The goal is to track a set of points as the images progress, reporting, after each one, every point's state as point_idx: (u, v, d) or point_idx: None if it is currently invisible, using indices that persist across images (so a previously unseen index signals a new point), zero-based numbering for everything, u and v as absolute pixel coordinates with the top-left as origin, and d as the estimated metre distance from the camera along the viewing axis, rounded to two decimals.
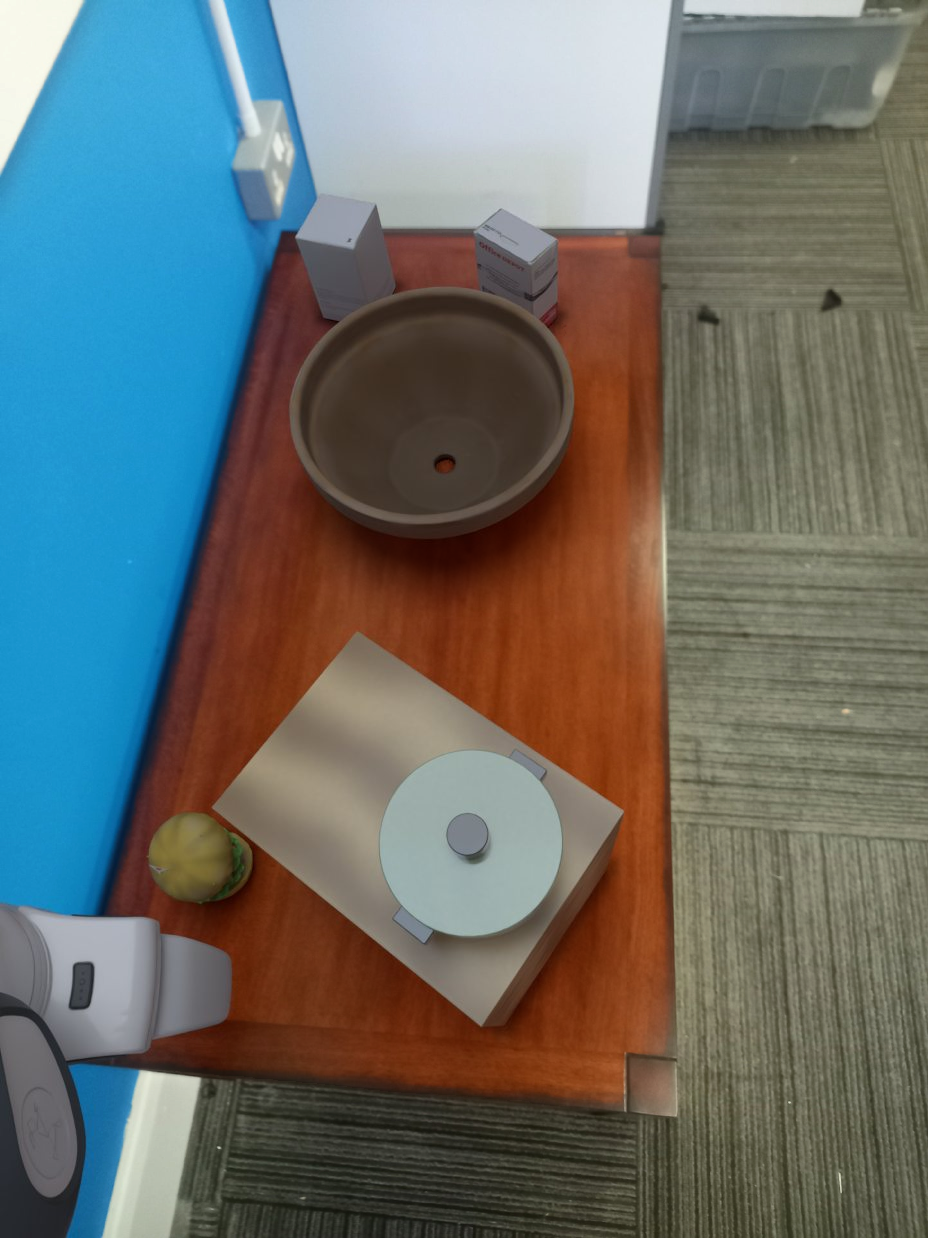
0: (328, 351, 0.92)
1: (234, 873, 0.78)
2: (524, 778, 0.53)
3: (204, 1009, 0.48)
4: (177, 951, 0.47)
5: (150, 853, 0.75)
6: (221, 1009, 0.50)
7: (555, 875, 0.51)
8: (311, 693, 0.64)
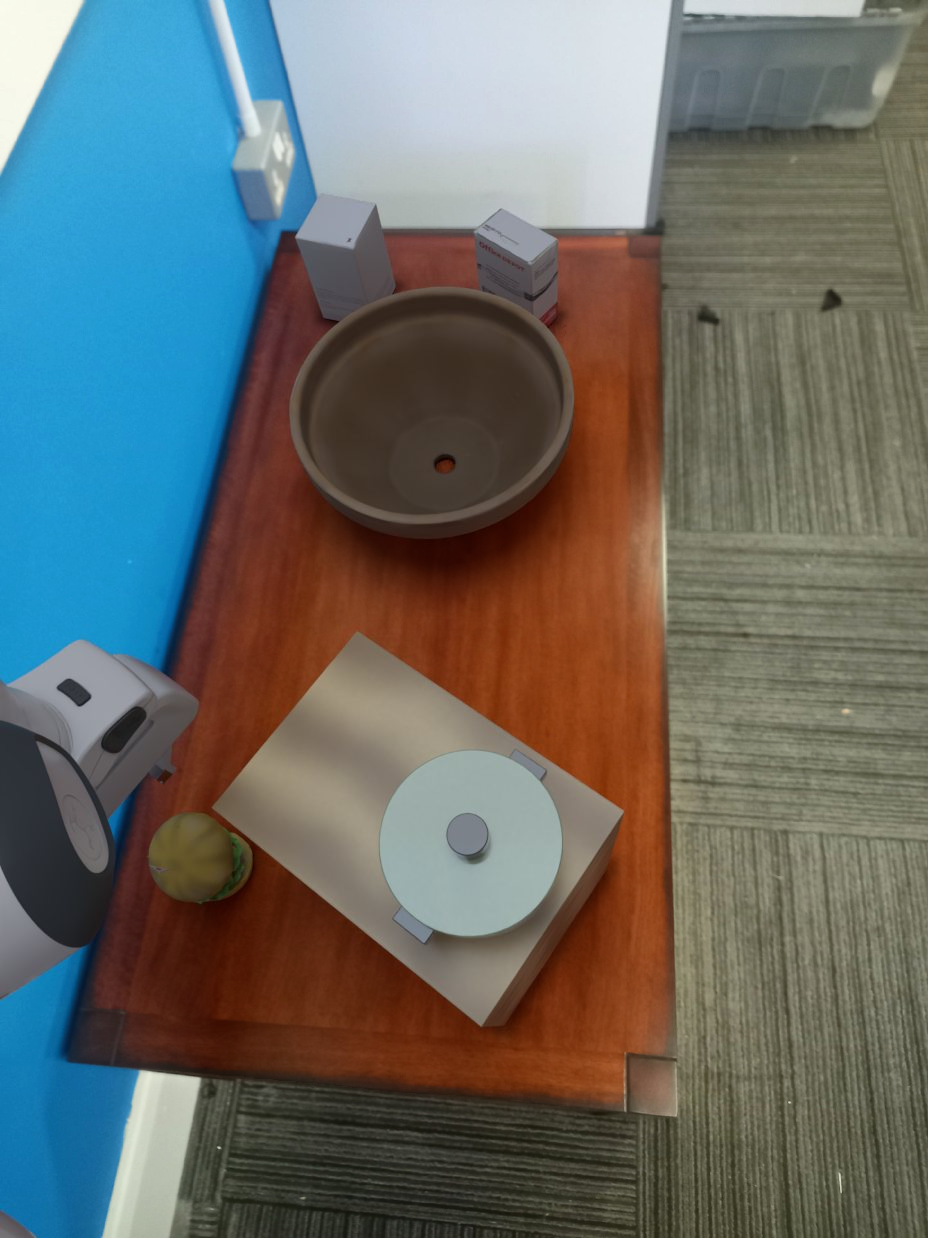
0: (328, 351, 0.92)
1: (234, 873, 0.78)
2: (524, 778, 0.53)
3: (175, 685, 0.58)
4: (122, 658, 0.57)
5: (150, 853, 0.75)
6: (189, 693, 0.60)
7: (555, 875, 0.51)
8: (311, 693, 0.64)
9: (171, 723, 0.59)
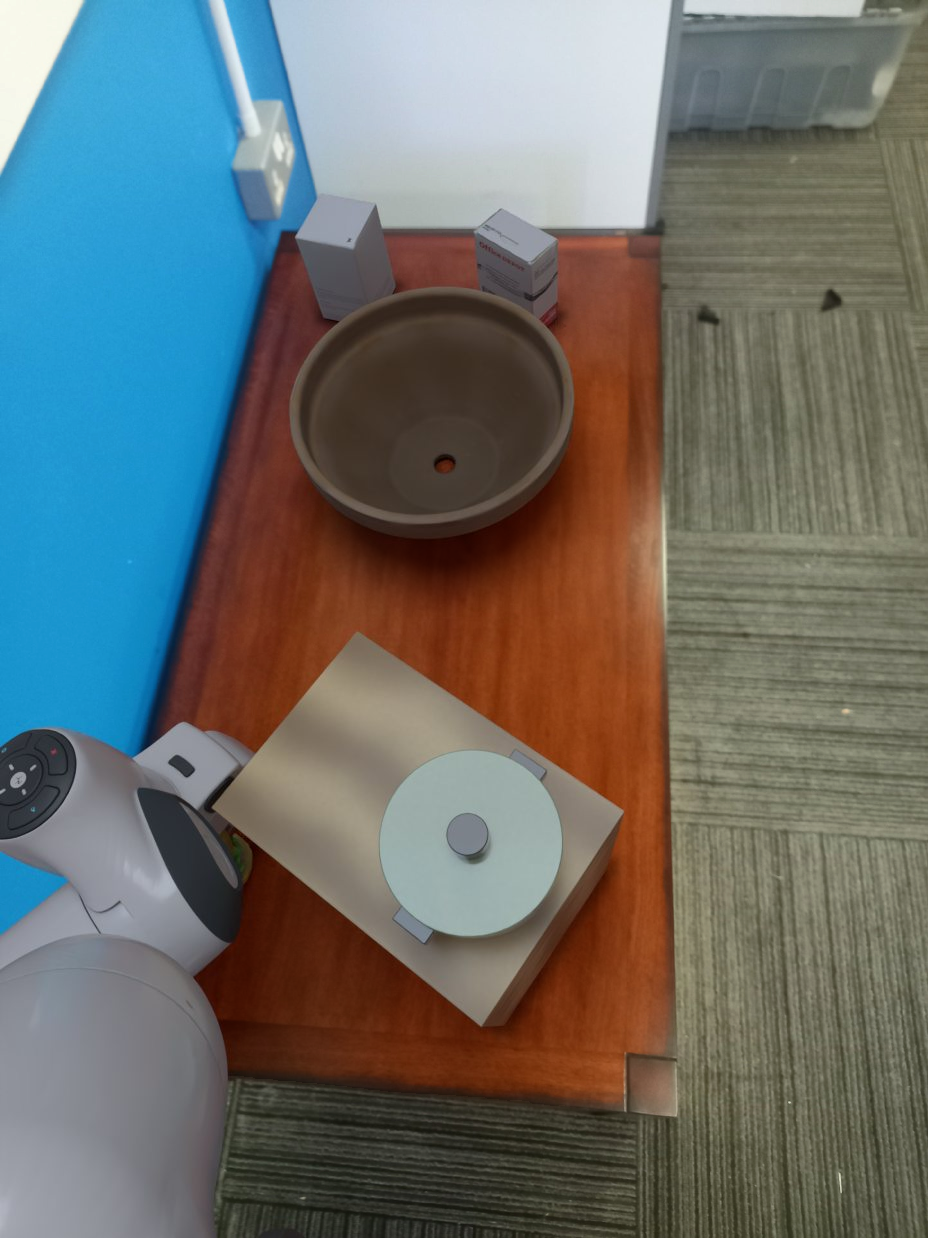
0: (328, 351, 0.92)
1: None
2: (524, 778, 0.53)
3: (253, 755, 0.73)
4: (212, 735, 0.72)
5: None
6: None
7: (555, 875, 0.51)
8: (311, 693, 0.64)
9: None
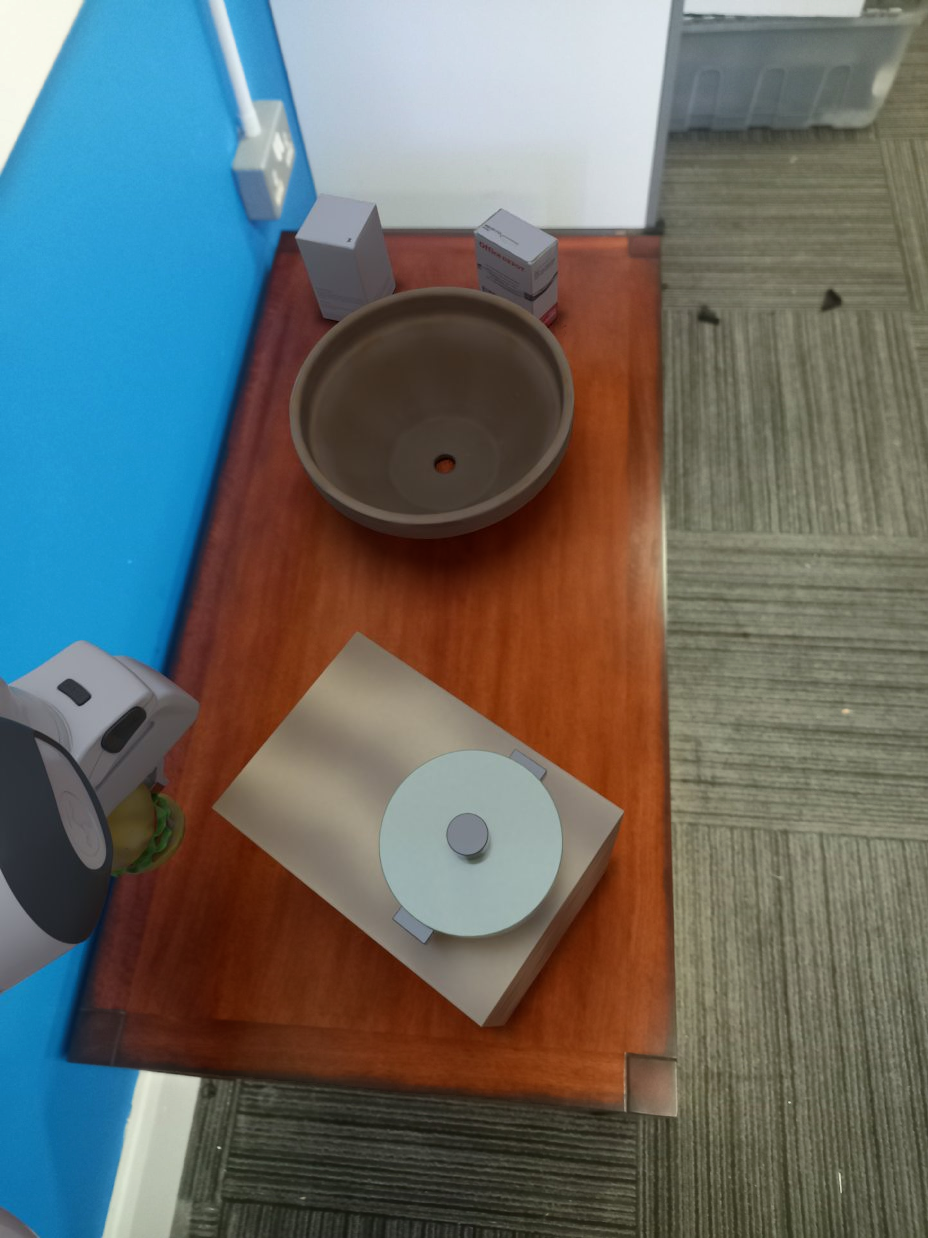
0: (328, 351, 0.92)
1: (158, 839, 0.63)
2: (524, 778, 0.53)
3: (175, 687, 0.58)
4: (122, 660, 0.57)
5: None
6: (189, 695, 0.60)
7: (555, 875, 0.51)
8: (311, 693, 0.64)
9: (171, 725, 0.59)
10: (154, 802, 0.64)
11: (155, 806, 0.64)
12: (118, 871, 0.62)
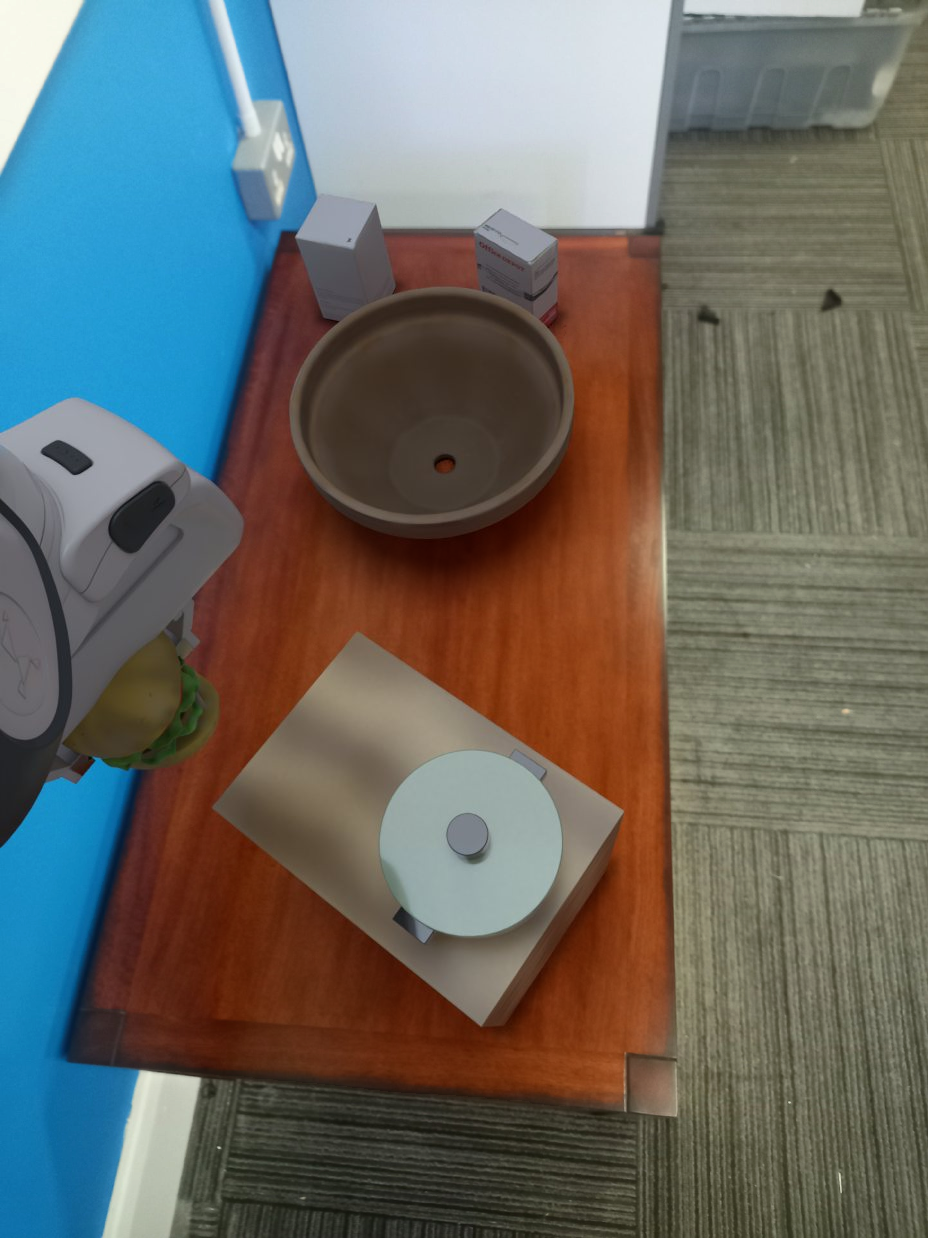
0: (328, 351, 0.92)
1: (185, 717, 0.46)
2: (524, 778, 0.53)
3: None
4: None
5: None
6: None
7: (555, 875, 0.51)
8: (311, 693, 0.64)
9: (206, 543, 0.42)
10: None
11: (180, 672, 0.46)
12: (130, 759, 0.45)
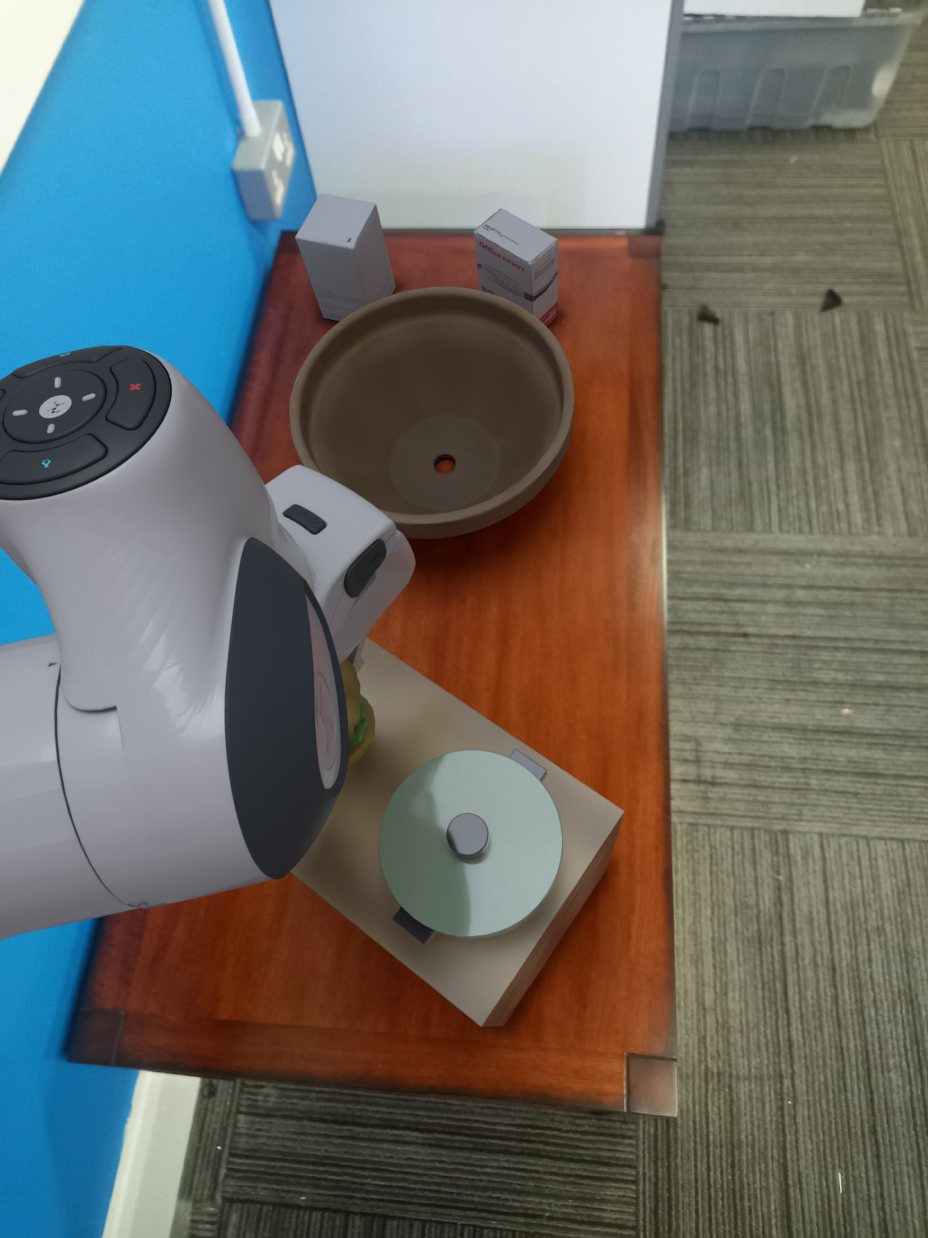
0: (328, 351, 0.92)
1: (356, 729, 0.53)
2: (524, 778, 0.53)
3: None
4: None
5: None
6: None
7: (555, 875, 0.51)
8: None
9: (389, 583, 0.49)
10: None
11: None
12: None
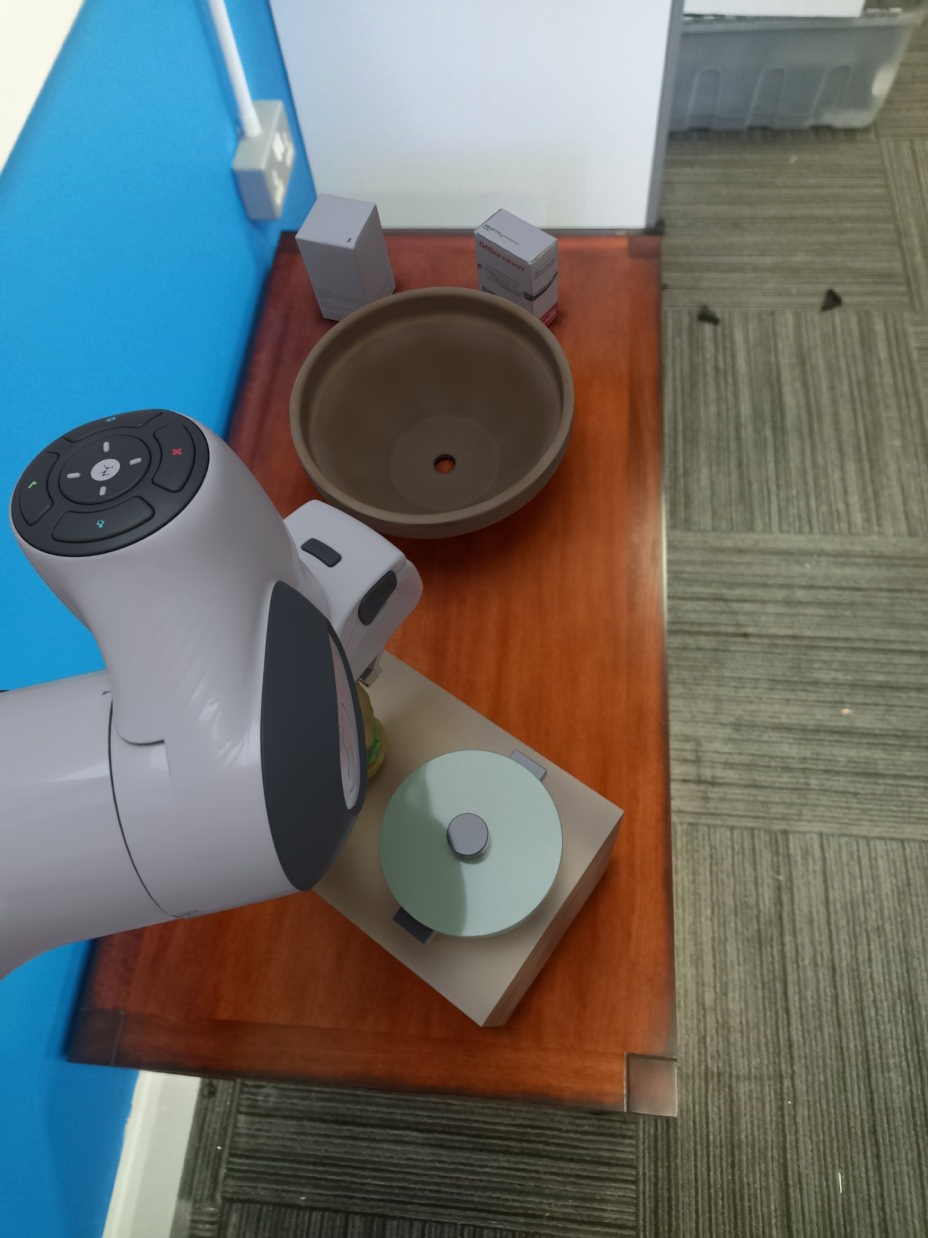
0: (328, 351, 0.92)
1: (369, 750, 0.57)
2: (524, 778, 0.53)
3: None
4: None
5: None
6: None
7: (555, 875, 0.51)
8: None
9: (398, 608, 0.52)
10: None
11: None
12: None
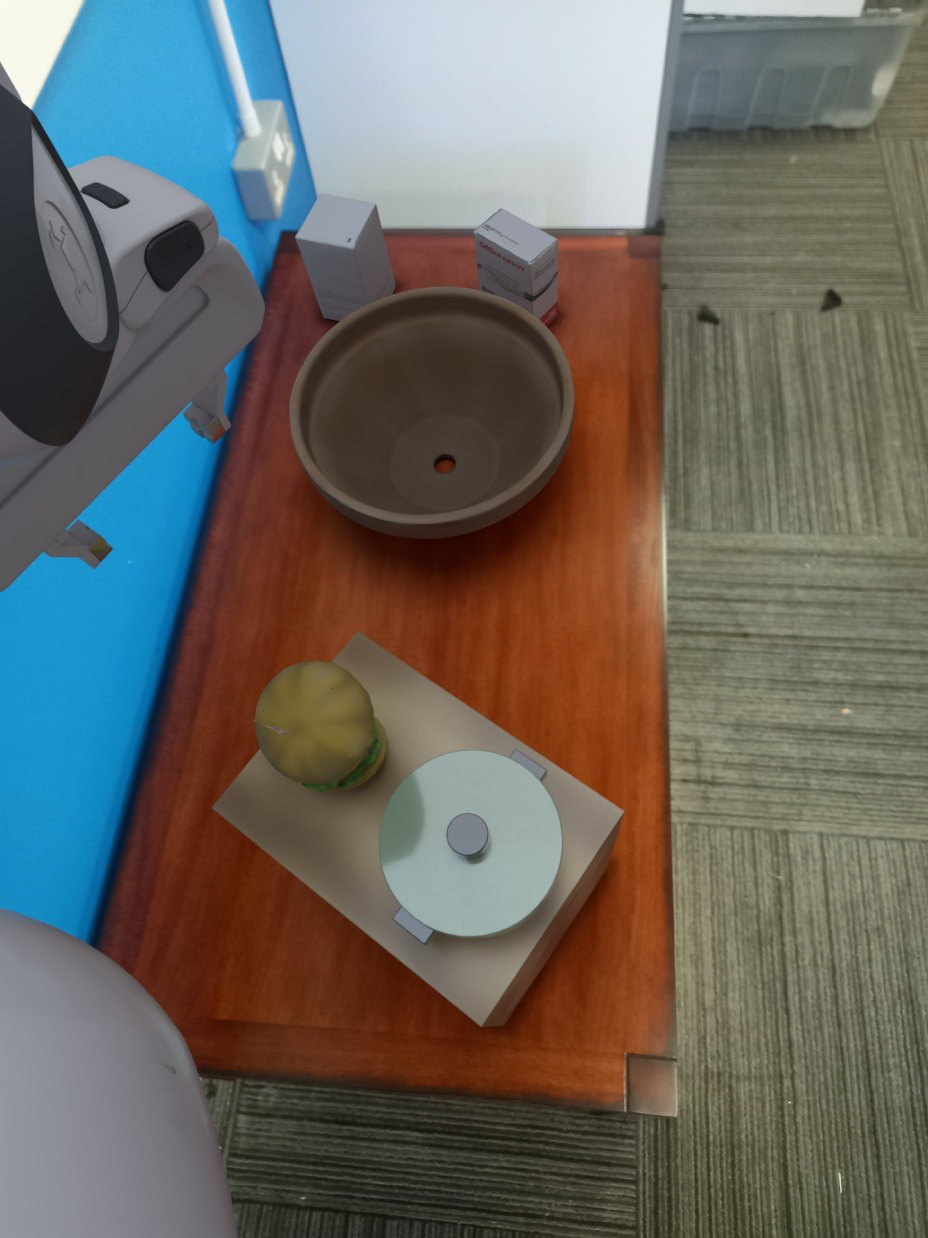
0: (328, 351, 0.92)
1: (369, 750, 0.57)
2: (524, 778, 0.53)
3: None
4: None
5: (259, 715, 0.54)
6: None
7: (555, 875, 0.51)
8: None
9: (230, 318, 0.44)
10: None
11: None
12: (328, 784, 0.56)
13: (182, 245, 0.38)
